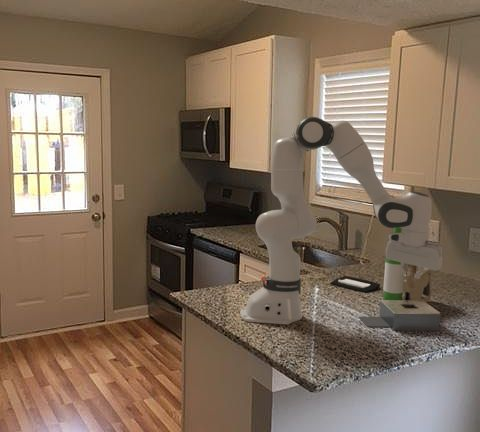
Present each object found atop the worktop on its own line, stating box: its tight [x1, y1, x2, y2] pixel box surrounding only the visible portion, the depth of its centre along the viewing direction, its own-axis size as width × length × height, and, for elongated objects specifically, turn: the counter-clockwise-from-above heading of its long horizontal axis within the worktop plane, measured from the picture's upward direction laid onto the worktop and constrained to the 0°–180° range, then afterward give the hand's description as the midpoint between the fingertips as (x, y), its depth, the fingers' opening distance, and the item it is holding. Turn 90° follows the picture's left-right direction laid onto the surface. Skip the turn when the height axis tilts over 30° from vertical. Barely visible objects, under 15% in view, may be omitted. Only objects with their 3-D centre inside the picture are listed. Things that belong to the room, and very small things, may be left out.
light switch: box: [330, 275, 381, 294], centre depth 232 cm, size 20×3×14 cm
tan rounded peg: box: [405, 264, 418, 288], centre depth 183 cm, size 3×3×8 cm
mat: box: [358, 315, 390, 328], centre depth 185 cm, size 8×10×1 cm
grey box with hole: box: [378, 299, 441, 332], centre depth 185 cm, size 16×14×6 cm
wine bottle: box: [382, 227, 405, 300], centre depth 212 cm, size 8×8×30 cm
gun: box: [402, 268, 433, 303], centre depth 204 cm, size 24×3×15 cm, turn 141°
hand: (411, 277), depth 183 cm, fingers closed on tan rounded peg, 3 cm apart
